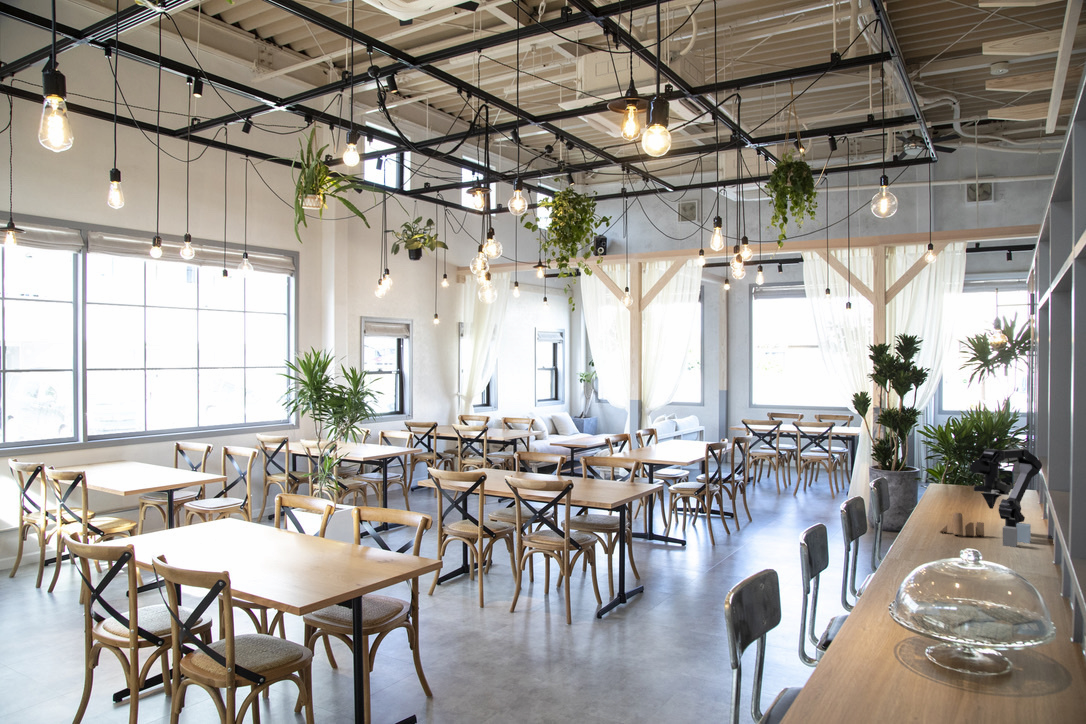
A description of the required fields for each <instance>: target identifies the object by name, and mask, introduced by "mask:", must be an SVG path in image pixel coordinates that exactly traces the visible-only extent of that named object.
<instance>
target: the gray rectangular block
mask: <svg viewBox="0 0 1086 724" xmlns="http://www.w3.org/2000/svg"><path fill="white" fill-rule="evenodd" d="M1002 546H1003V547H1009V546H1010V547H1011V548H1017V547H1018V542H1017V527H1009V526H1005V525H1003V527H1002ZM1016 546H1017V547H1016Z"/></svg>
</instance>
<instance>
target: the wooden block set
mask: <svg viewBox="0 0 1086 724" xmlns="http://www.w3.org/2000/svg"><path fill="white" fill-rule="evenodd" d="M952 523H953V524H952V526H953V527H952V528H953V530H952V531H953V536H955V535H958V536H957V537H963V536H964V534H965V535H966V536H965V537H972V536H973V537H974V536H976V535H977V536H976V537H981V536H983V537H984V536H985V525H984V524H985V523H984V522H979V521H976V522H975V524H974V522H972V521H971V522H968V523H967V524H965V526H964V529H963V524H964V523H963V513H961V512H953V513H952ZM964 530H965V531H964ZM940 532H945V533H944V534H947V533H948V524H946V525H945V526H944V527H943V528H942V529H941V530H940V531H939V533H940Z"/></svg>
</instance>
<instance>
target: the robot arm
mask: <svg viewBox="0 0 1086 724" xmlns="http://www.w3.org/2000/svg"><path fill="white" fill-rule="evenodd" d="M1015 458H1016V461H1017V462H1018V464H1019V465H1018V466H1019V467H1018V468H1019V475H1018V477H1017V479H1016V482H1015V484H1014V486H1013V482H1009V481H1007V482H1003V481H1002V479H1001V477H1000V478H999V468H1001V467H1003V466H1002V463H1000V462H1003V461H1005V459H1006V460H1007V459H1015ZM1042 467H1043V463H1042V462H1041V460H1039V458H1038V457H1037V456H1035V455H1034V454H1032V453H1031V452H1030V450H1028V449H1025V448H1020V447H1019V448H1018V447H1017V448H1015V449H994V448H985V449H984V451H983V452H982V454H981V455H980V457H978V459H977V458H974V461H972V462H971V463H970V465H969V469H970V472H971V473H973V474H978V475H983V476H982V477H981V478H982V480H984V481H983V482H984V483H983V485H977V484H975V485H974V486H973V492H978V493H979V492H980V494H981V495H982V497H983V498H984V500H985V502H986V504H987V506H988V508H989V509H991V510H992V509H994V506H995V504H996V502H997V499H998V498H999V497H1001V496H1002V495H1005V496H1006V495H1007V496H1009V497H1008V498H1007V499H1002V500H1001V501H1000V504H998V513H999V517H1000V519H1001V520H1004V522H1005V523H1004V526H1009V527H1016V524H1017V523H1023V522H1024V523H1025V516H1024V514H1023V513H1022V512H1021V511H1022V507H1021V501H1022V500H1023V497H1024V495H1025V493H1026V491H1027V489H1028V487H1029V484H1030V483H1031V481H1032V478H1033V477H1034V476H1035V477H1036V475H1038V474H1039V473H1040V471H1041V469H1042ZM1010 492H1011V493H1010Z"/></svg>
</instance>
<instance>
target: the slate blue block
mask: <svg viewBox="0 0 1086 724" xmlns="http://www.w3.org/2000/svg"><path fill="white" fill-rule="evenodd" d="M1016 527H1017V543H1021V542H1024V544H1029V543H1031V542H1030V541H1031V537H1032V536H1031V535H1032V533H1031V532H1032V531H1031V530H1032V529H1031V528H1032V527H1031V523H1025V522H1024V523H1023V522H1019V523H1017V524H1016Z"/></svg>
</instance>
